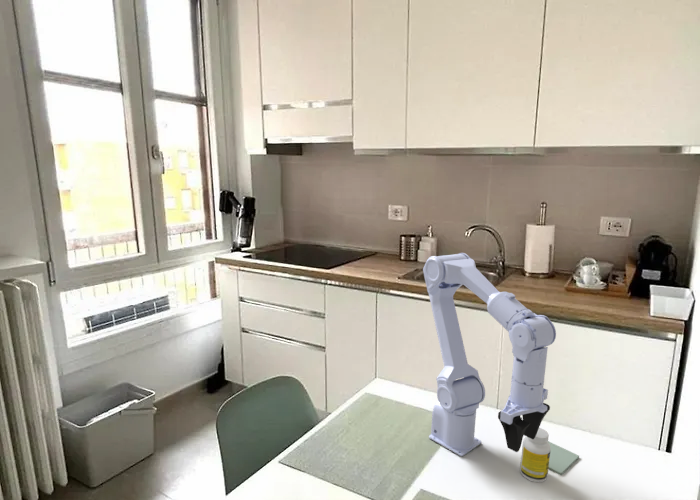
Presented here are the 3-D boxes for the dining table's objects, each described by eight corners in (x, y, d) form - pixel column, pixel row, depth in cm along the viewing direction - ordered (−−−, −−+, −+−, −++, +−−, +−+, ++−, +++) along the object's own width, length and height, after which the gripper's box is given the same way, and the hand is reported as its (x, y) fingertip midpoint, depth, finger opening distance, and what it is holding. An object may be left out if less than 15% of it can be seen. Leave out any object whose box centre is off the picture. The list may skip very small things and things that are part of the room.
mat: (525, 457, 103) (525, 455, 103) (544, 441, 109) (544, 439, 109) (560, 475, 97) (561, 473, 97) (579, 457, 103) (579, 455, 103)
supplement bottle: (549, 484, 95) (554, 441, 93) (521, 480, 96) (526, 438, 94) (544, 467, 100) (549, 426, 98) (518, 464, 101) (522, 423, 99)
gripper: (528, 399, 81) (521, 468, 83) (565, 374, 90) (558, 437, 93) (492, 384, 86) (487, 450, 89) (531, 362, 95) (525, 422, 98)
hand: (521, 442), depth 91 cm, fingers open, 6 cm apart
